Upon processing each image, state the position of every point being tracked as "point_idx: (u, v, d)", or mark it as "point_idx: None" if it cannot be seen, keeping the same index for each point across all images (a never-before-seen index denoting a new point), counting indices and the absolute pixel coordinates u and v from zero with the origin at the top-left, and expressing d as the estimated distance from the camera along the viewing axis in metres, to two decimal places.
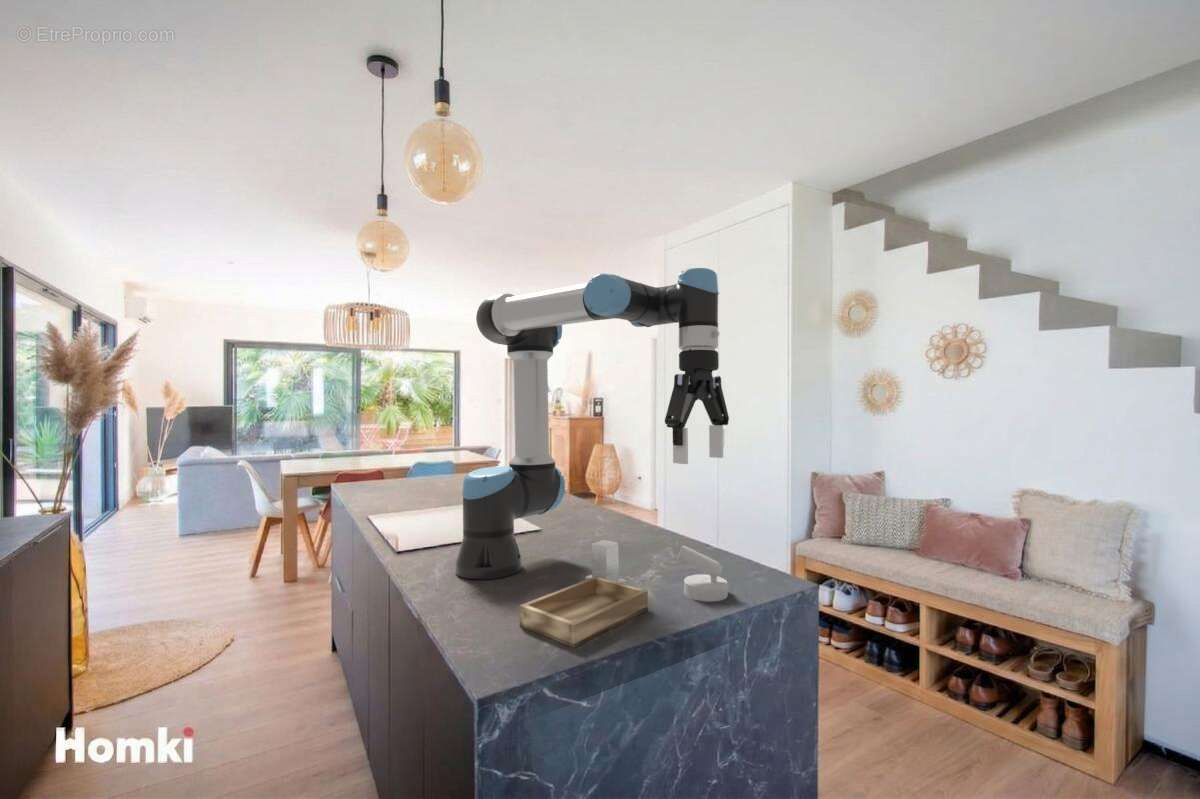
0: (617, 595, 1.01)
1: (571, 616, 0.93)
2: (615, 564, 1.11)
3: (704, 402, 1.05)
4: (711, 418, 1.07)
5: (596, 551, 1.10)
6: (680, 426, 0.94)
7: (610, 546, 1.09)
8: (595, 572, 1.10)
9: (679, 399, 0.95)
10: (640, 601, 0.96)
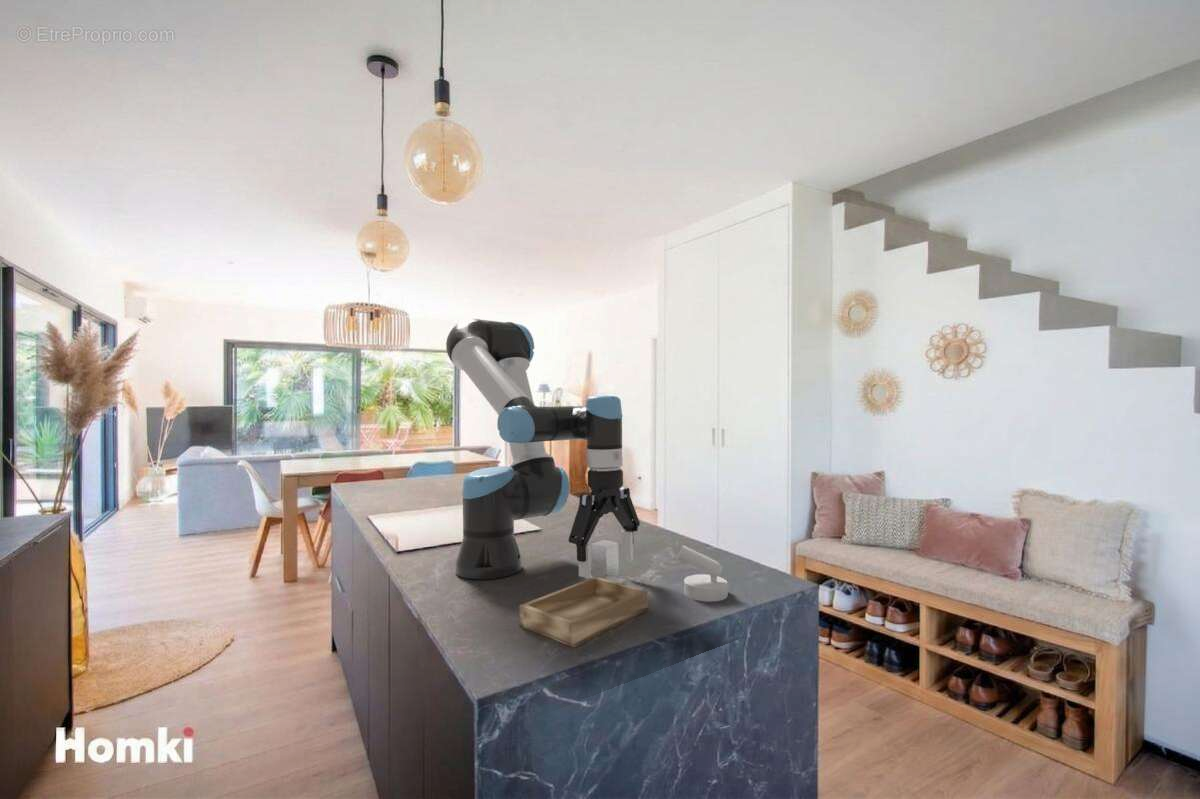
0: (617, 595, 1.01)
1: (571, 616, 0.93)
2: (615, 564, 1.11)
3: (614, 512, 1.14)
4: (622, 525, 1.17)
5: (596, 551, 1.10)
6: (582, 544, 1.04)
7: (610, 546, 1.09)
8: (595, 572, 1.10)
9: (582, 520, 1.04)
10: (640, 601, 0.96)
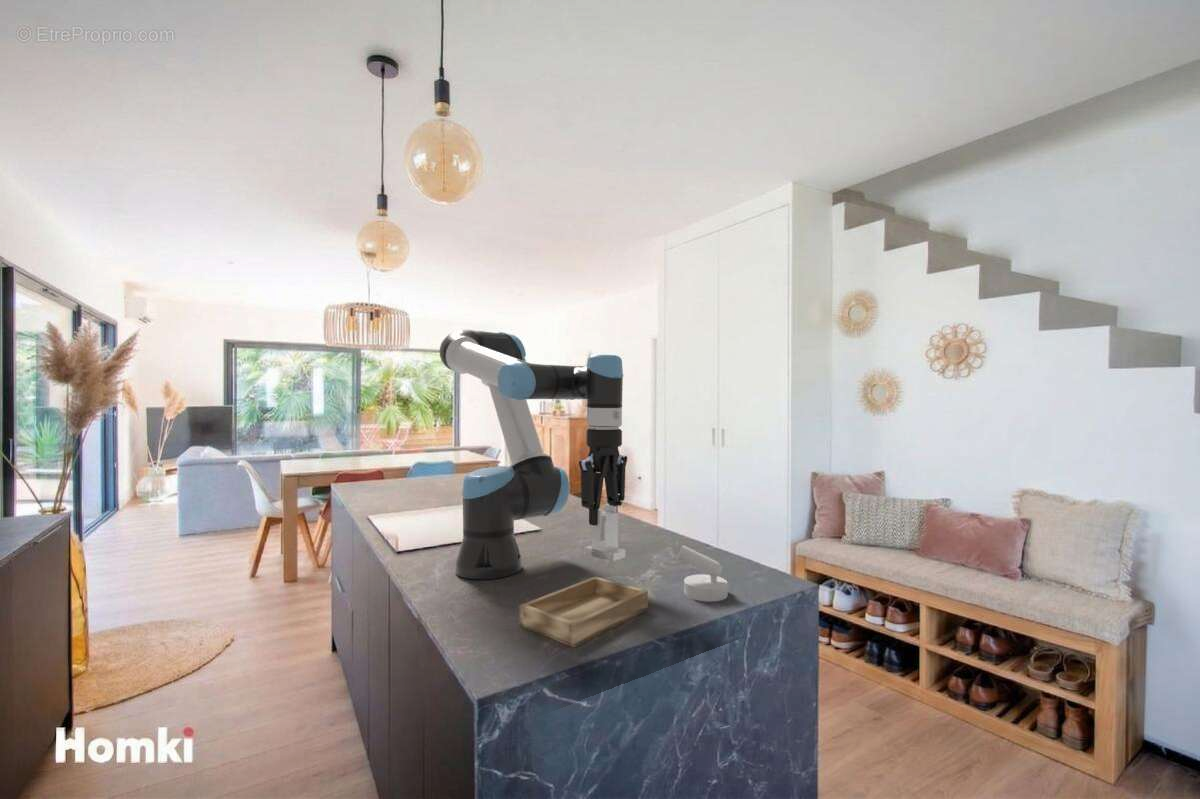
0: (617, 595, 1.01)
1: (571, 616, 0.93)
2: (614, 534, 1.11)
3: (605, 477, 1.13)
4: (608, 495, 1.14)
5: None
6: (595, 509, 1.08)
7: (609, 516, 1.10)
8: (594, 542, 1.11)
9: (588, 486, 1.07)
10: (640, 601, 0.96)
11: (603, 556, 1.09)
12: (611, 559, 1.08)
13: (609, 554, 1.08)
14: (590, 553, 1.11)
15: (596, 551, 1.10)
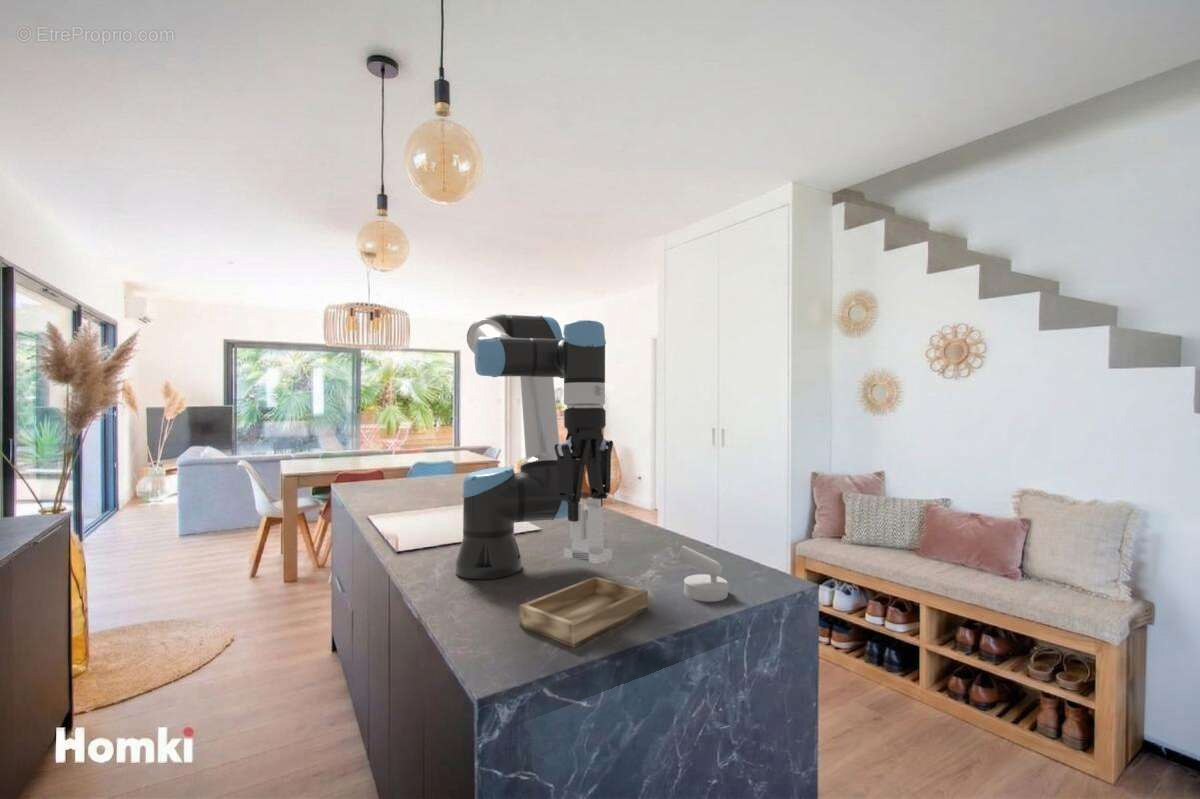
0: (617, 595, 1.01)
1: (571, 616, 0.93)
2: (599, 531, 0.94)
3: (587, 465, 0.97)
4: (591, 487, 0.97)
5: None
6: (575, 502, 0.92)
7: (592, 510, 0.93)
8: (575, 541, 0.94)
9: (565, 474, 0.90)
10: (640, 601, 0.96)
11: (585, 558, 0.92)
12: (595, 561, 0.91)
13: (592, 555, 0.91)
14: (571, 555, 0.94)
15: (577, 552, 0.93)
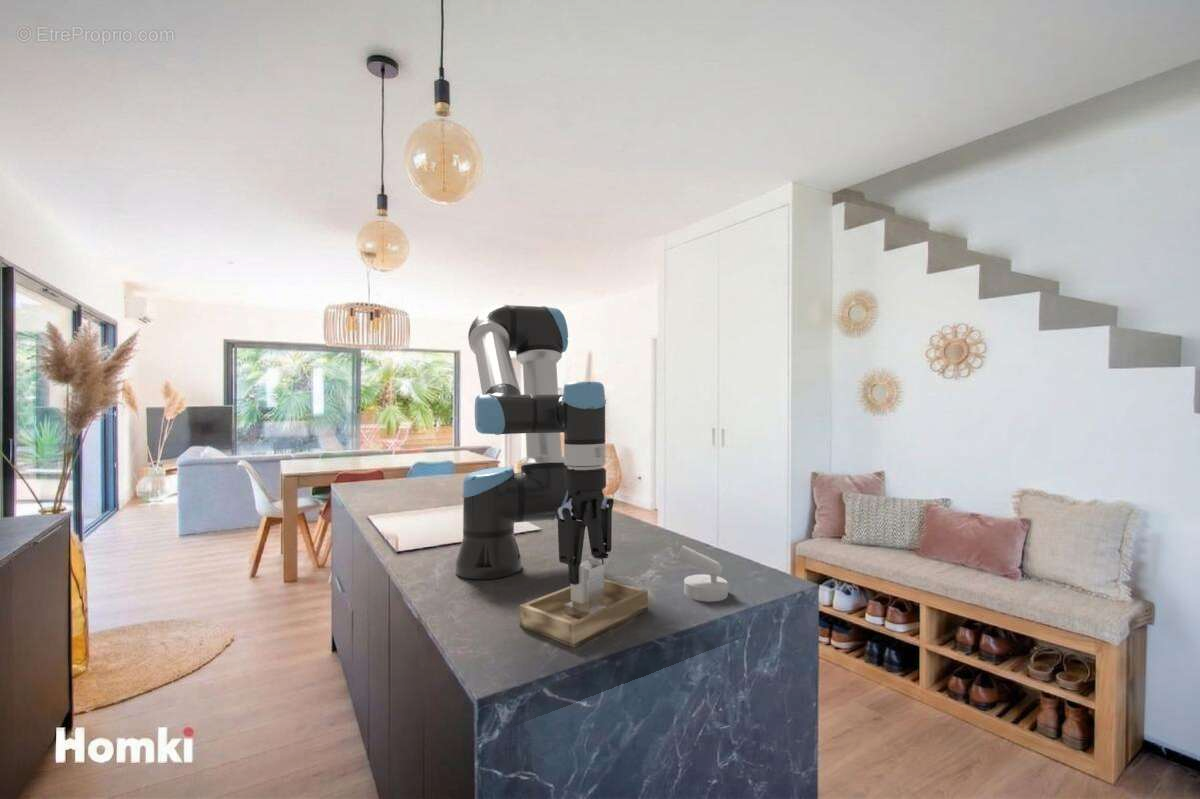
0: (617, 595, 1.01)
1: (571, 616, 0.93)
2: (600, 590, 0.93)
3: (588, 524, 0.96)
4: (591, 546, 0.97)
5: None
6: (576, 565, 0.91)
7: (593, 569, 0.92)
8: None
9: (566, 538, 0.90)
10: (640, 601, 0.96)
11: None
12: None
13: None
14: (571, 612, 0.94)
15: (577, 610, 0.93)
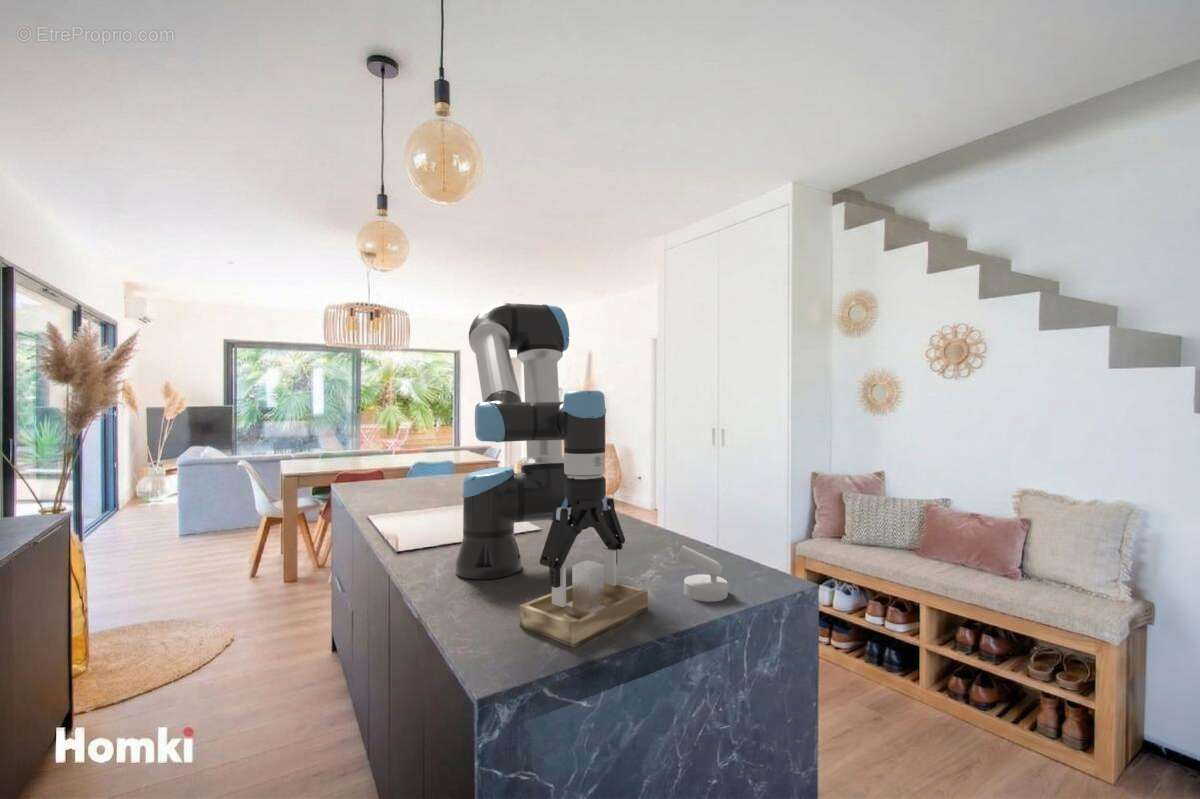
0: (617, 595, 1.01)
1: (571, 616, 0.93)
2: (600, 590, 0.93)
3: (595, 527, 0.98)
4: (604, 541, 1.00)
5: (577, 575, 0.93)
6: (556, 567, 0.88)
7: (593, 569, 0.92)
8: (575, 599, 0.93)
9: (555, 538, 0.88)
10: (640, 601, 0.96)
11: None
12: None
13: None
14: (571, 612, 0.94)
15: (577, 610, 0.93)
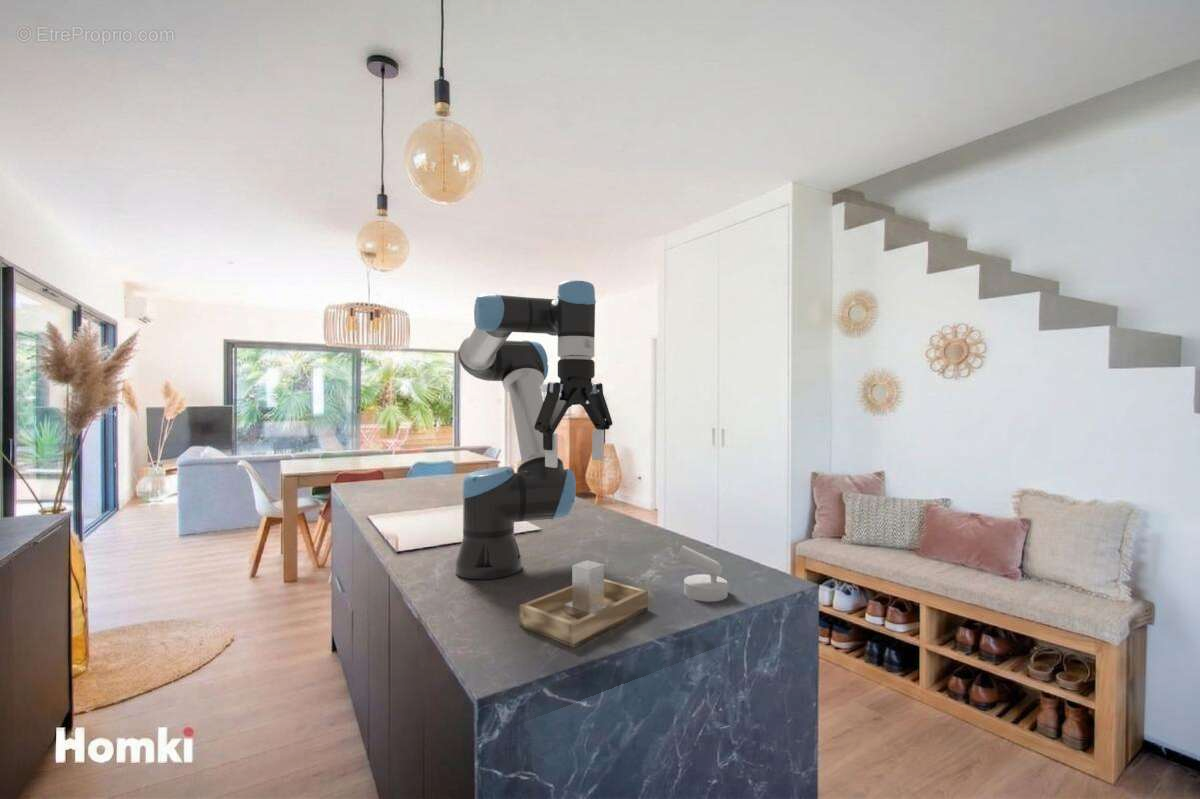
0: (617, 595, 1.01)
1: (571, 616, 0.93)
2: (600, 590, 0.93)
3: (585, 407, 1.10)
4: (594, 422, 1.12)
5: (577, 575, 0.93)
6: (549, 432, 1.00)
7: (593, 569, 0.92)
8: (575, 599, 0.93)
9: (548, 406, 1.00)
10: (640, 601, 0.96)
11: None
12: None
13: None
14: (571, 612, 0.94)
15: (577, 610, 0.93)
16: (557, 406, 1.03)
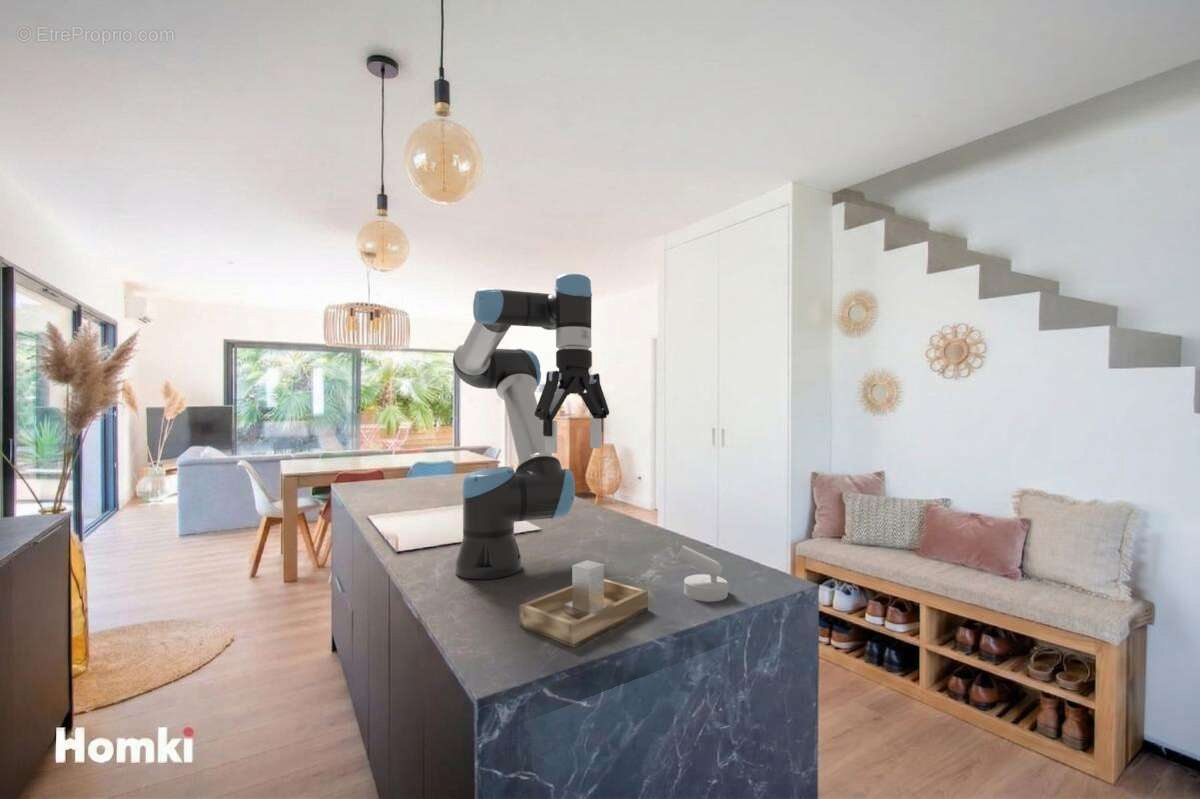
0: (617, 595, 1.01)
1: (571, 616, 0.93)
2: (600, 590, 0.93)
3: (582, 397, 1.14)
4: (591, 412, 1.16)
5: (577, 575, 0.93)
6: (549, 418, 1.03)
7: (593, 569, 0.92)
8: (575, 599, 0.93)
9: (548, 394, 1.04)
10: (640, 601, 0.96)
11: None
12: None
13: None
14: (571, 612, 0.94)
15: (577, 610, 0.93)
16: (556, 394, 1.07)
